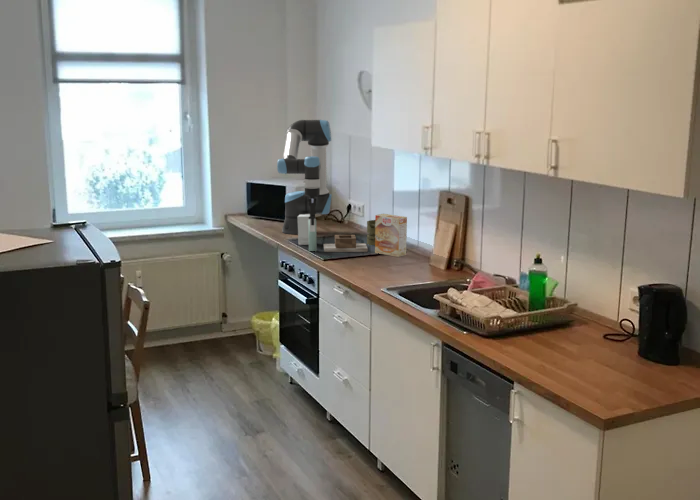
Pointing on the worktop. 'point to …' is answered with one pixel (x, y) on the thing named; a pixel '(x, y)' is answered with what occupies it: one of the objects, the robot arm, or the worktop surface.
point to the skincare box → (303, 229)
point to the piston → (371, 232)
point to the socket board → (358, 248)
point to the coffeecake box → (390, 234)
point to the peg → (312, 238)
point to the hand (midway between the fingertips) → (312, 229)
